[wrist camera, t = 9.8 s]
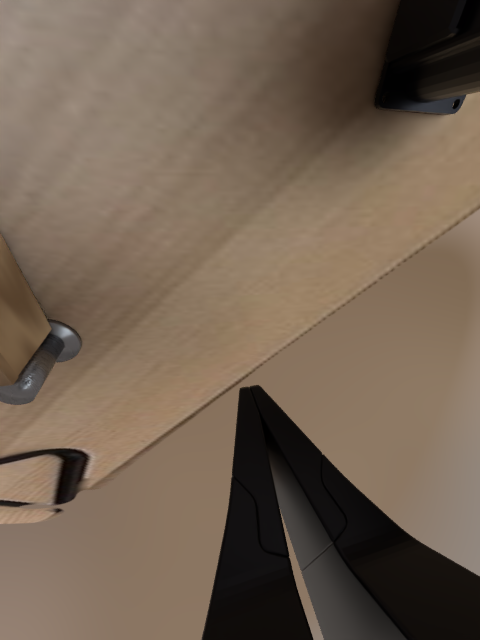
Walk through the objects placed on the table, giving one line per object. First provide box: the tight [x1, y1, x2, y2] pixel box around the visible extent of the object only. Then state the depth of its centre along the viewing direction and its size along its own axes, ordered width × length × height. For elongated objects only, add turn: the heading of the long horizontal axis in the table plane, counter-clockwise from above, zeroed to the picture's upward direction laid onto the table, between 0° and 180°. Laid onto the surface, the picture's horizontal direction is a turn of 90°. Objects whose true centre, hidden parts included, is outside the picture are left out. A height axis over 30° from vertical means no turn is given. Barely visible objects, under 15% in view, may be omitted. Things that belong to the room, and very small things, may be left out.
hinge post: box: [0, 319, 82, 405], centre depth 17 cm, size 4×4×6 cm
